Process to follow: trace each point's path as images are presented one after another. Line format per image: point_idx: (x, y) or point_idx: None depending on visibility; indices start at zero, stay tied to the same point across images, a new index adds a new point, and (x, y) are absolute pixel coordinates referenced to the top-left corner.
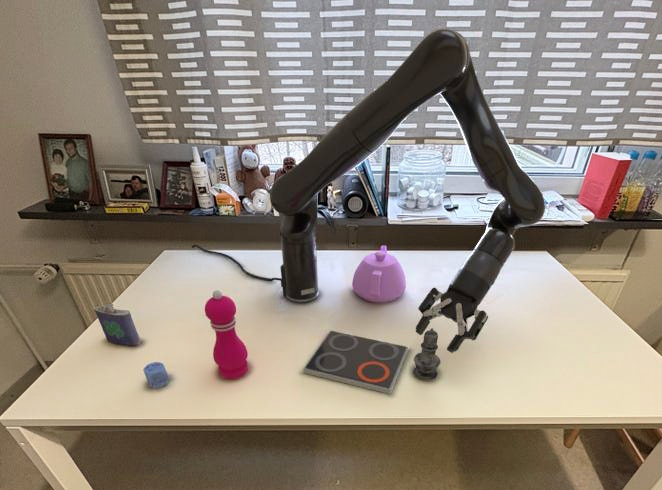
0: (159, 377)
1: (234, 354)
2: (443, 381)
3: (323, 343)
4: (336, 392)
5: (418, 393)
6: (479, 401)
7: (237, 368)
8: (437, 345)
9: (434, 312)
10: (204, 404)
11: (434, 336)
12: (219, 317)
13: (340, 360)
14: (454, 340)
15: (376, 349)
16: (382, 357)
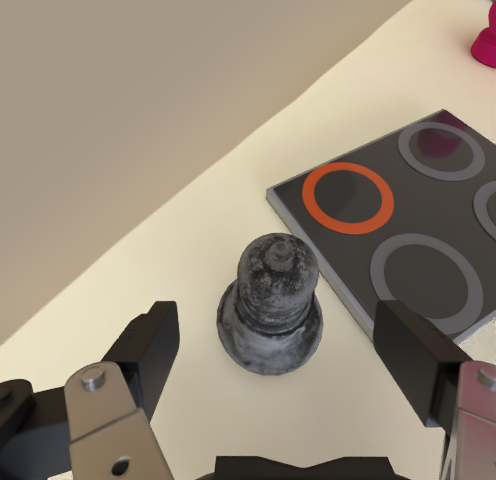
0: None
1: None
2: (198, 342)
3: None
4: (342, 131)
5: (219, 247)
6: (61, 354)
7: (489, 34)
8: (249, 327)
9: (454, 424)
10: (424, 16)
11: (245, 255)
12: None
13: (434, 164)
14: (140, 332)
15: (442, 265)
16: (392, 252)
